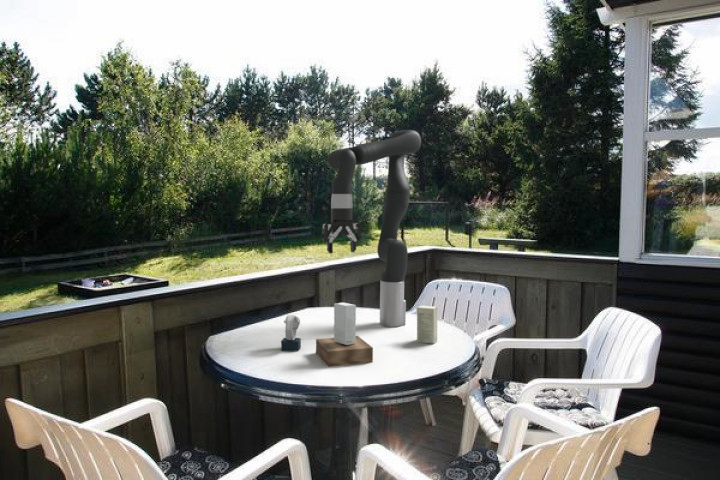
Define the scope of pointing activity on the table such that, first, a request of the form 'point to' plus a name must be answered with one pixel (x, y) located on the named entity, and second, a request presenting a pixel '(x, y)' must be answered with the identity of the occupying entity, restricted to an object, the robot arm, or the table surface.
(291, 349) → the white bust on pedestal
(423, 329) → the skincare box
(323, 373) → the table surface
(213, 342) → the table surface
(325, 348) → the walnut block
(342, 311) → the skincare box
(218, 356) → the table surface
